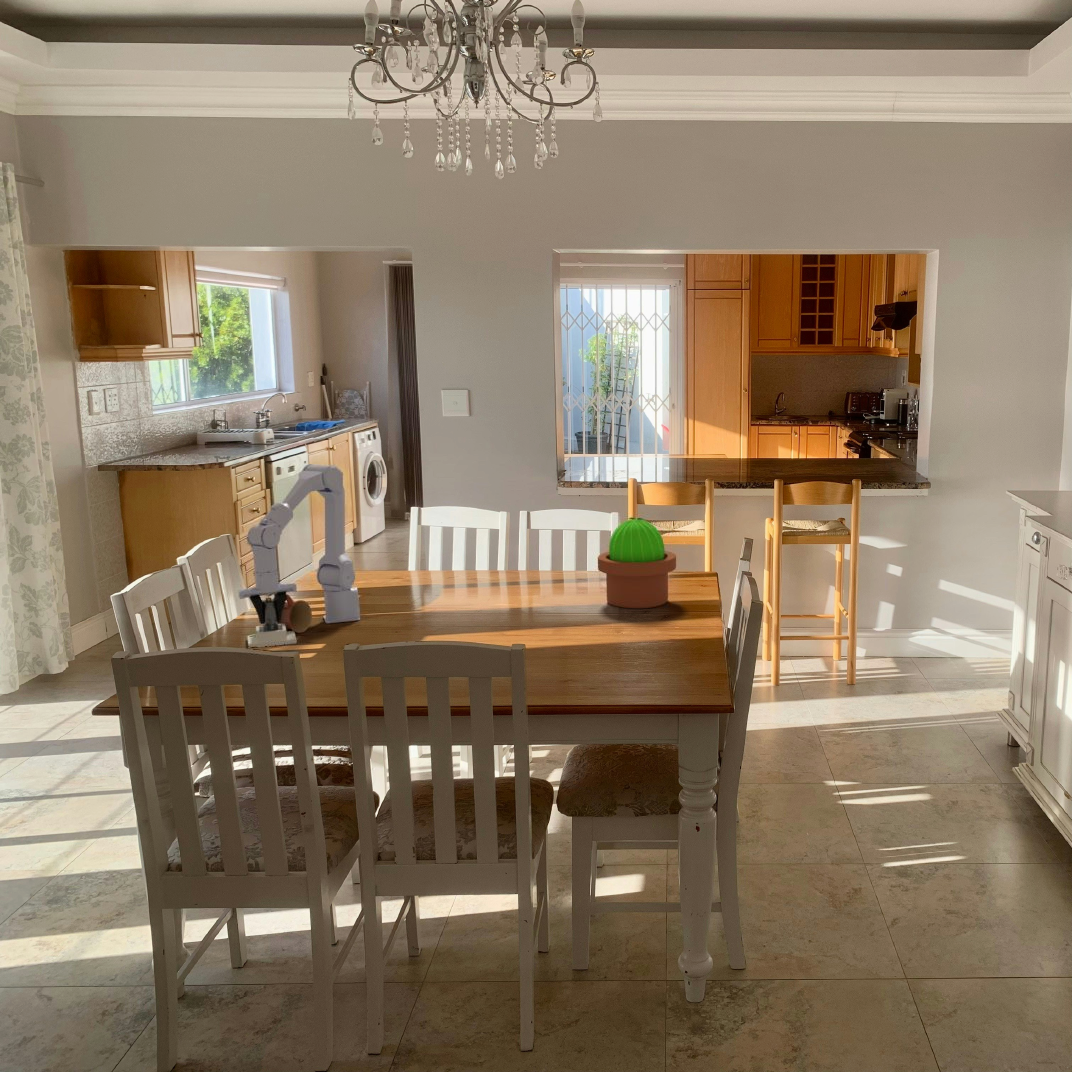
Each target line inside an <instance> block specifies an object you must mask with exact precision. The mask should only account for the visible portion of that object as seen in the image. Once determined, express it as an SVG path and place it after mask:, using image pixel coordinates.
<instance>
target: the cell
mask: <svg viewBox="0 0 1072 1072" xmlns="http://www.w3.org/2000/svg"><path fill="white" fill-rule="evenodd" d="M262 612H263V619H264V624H262V626H263V631H264V632H268V631H277V630H279V629H278V617H277V604H276V600H274V599H272V597H265V599H264V600H262Z"/></svg>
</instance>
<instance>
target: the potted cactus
mask: <svg viewBox="0 0 1072 1072" xmlns="http://www.w3.org/2000/svg"><path fill="white" fill-rule="evenodd" d="M663 539H664V536H662V535H661V531H660V530H659V529H657V527H656V526H655V525H653V524H652V523H651V522H650V521H649V522H648V521H647V520H645V518H641V517H637V518H635V517H633V516H631V517H628V520H627V519H625V521H624V522H621V523H620V524H619V525H617V527H616V528H615V529H614V530H613V532H612V534H611V535H610V539H609V542H608V545H607V547H608V551H606V552H602V553H601V554H599V555H598V556H597V570H598V571H599V572H600V573H603V574H605V576H606V583H605V584H606V601H607V603H608V604H610V605H611V606H615V607H617V608H623V609H648V608H649V609H650V608H651V609H652V608H655V607H659V606H663V605H664V604H666V603H667V602H668V600H669V573H671V572H674V571H675V570H676V569H677V554H676V553H674V552H671V551H667V550H666V549H665V544H664V540H663Z"/></svg>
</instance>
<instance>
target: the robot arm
mask: <svg viewBox="0 0 1072 1072" xmlns="http://www.w3.org/2000/svg"><path fill="white" fill-rule="evenodd" d="M313 492H317V493H318V494H320V495H321V497H323V498H324V555H323V556H322V557H321V558H320V559H319V560H318V568H317V571H316V580H317V582H318V584H319V585H320V586H321V589H322V590H323V596H324V598H323V599H324V600H323V601H324V611H325V612H324V613H325V615H323V620H324V622H325V624H336V623H343V622H354V621H360V620H361V616H360V615H361V614H360V612H361V609H360V600H359V598H360V597H359V592H358V587H357V586H353V585H354V583H355V581H356V573H355V570H354V566H353V565H354V564H353V563H354V562H353V560H351V558H349V556H348V555H347V554H346V509H345V508H346V500H345V499H346V496H345V495H346V494H345V493H346V492H345V487H344V473H343V471H342V470H341V469H340V468H339V467H338V466H336V465H334V464H333V465H332V464H331V465H326V464H325V465H322V464H321V465H320V464H311V463H310V464H306V465H305V466H304V467H303V468H302V470H301V471H300V472H298V479H297V481H296V483H294V485H293V487H292V488H291V489H290V491H288V494H287V495H286V496H285V498H284V499H283V501H282V502H277V503H276V502H275V504H272V505H271V507H270V510H269V511H268V512H267V513H266V515H264V517H263V518H262V519H260V520H259V523H258V524H254V525H253V526H251V527H250V528H249V531H248V534H247V536H246V538H245V539H246V540H247V544H249V546H250V549H251V552H252V556H253V566H254V567H253V568H254V578H255V586H254V587H250V588H249V587H248V588H244V589H239V590H237V593H238V599H239V600H243V599H245V598H248V599H249V600H250V602H251V603H252V605H253V607H254V609H255V612H256V614H257V616H258V620H259V621H258V622H259V624H261V625H263V624H264V619H263V612H262V601H263V600H262V597H261V596H268V595H273V596H274V597H275V600H276V604H277V617H278V622H279V621H281V615H282V610H283V607H284V604H285V602H287V601H286V599H287V594H288V593H291V592H292V593H296V592H298V590H297V584H296V583H281V584H280V583H279V573H278V561H277V560H278V559H277V558H278V557H277V547H276V546H277V545H279V543H280V541H281V535H282V534H283V533H282V532H283V530H284V529H285V528H286V527H287V526H288V525H289V523H290V522H291V521H292V520H293V518H294V510H295V509H296V508H297V507H298V506H299V505H300V503H302V501H303V500H305V498H306V497H308V495H309V494H310V493H313Z"/></svg>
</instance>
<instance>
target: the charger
mask: <svg viewBox="0 0 1072 1072" xmlns="http://www.w3.org/2000/svg"><path fill="white" fill-rule="evenodd" d="M278 629H279V630H277V631H268V632H264V631H263V625H257V626H255V632H256V633H254V634H249V635H247V647H248V646H257V647H258V648H265V646H267V647H273V646H275V645H276V646H282V645H283V646H284V644H285V645H292V644H297V637H296V632H295V631H293V630H287V629H286V627H285V623H283V624H278ZM248 649H251V648H250V647H248Z"/></svg>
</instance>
